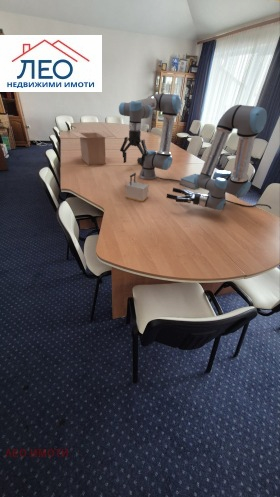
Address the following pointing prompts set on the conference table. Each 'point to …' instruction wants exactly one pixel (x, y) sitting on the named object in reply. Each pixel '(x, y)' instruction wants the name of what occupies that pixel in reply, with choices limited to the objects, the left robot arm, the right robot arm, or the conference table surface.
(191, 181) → the book
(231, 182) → the right robot arm
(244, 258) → the conference table surface
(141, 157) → the laser sight
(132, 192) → the chest
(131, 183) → the lid
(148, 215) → the conference table surface
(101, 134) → the box
